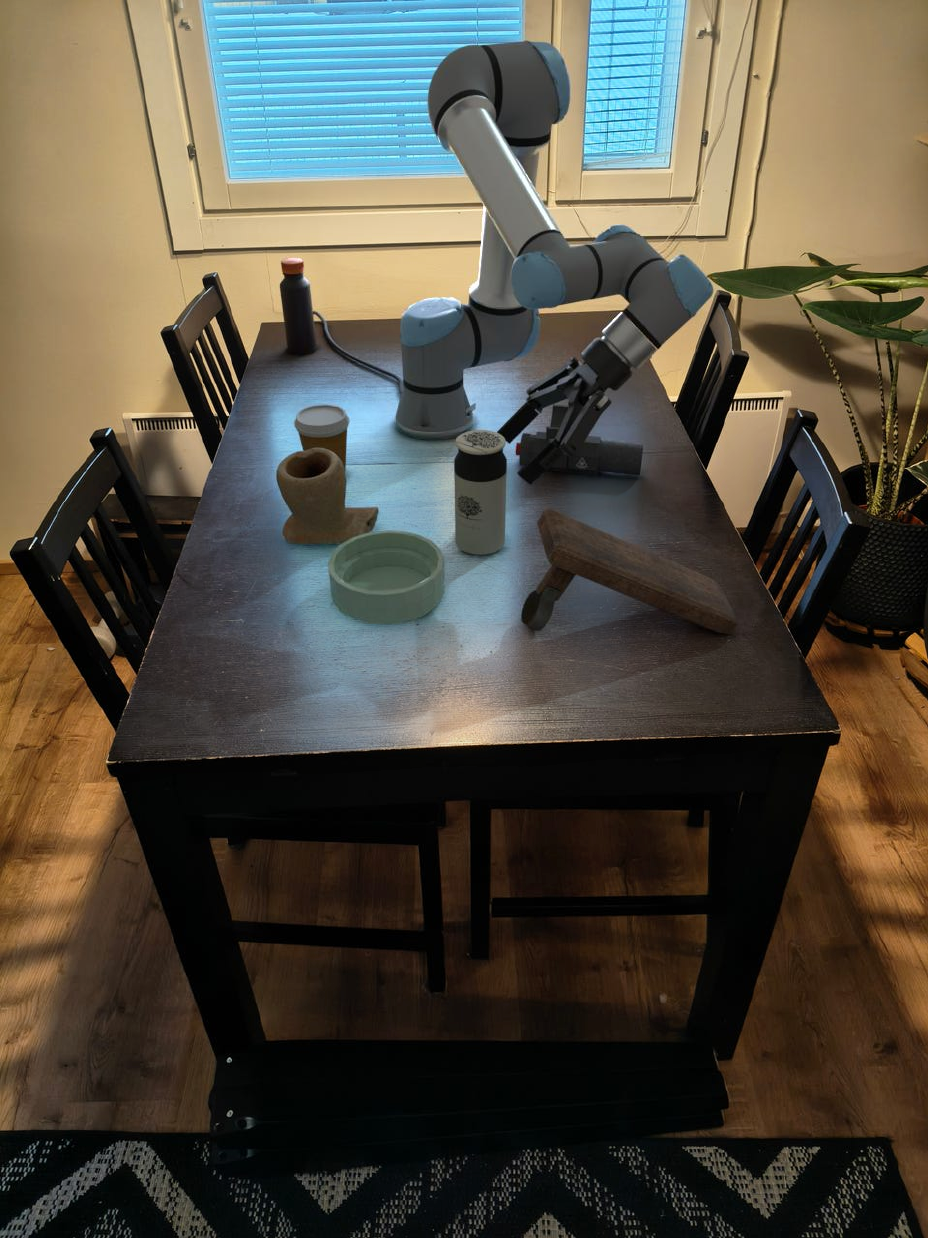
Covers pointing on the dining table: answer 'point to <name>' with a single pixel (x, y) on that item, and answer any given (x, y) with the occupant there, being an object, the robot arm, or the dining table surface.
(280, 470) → the stone cup
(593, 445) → the laser sight
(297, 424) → the disposable coffee cup
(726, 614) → the dark brown angled bar
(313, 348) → the water bottle
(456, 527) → the travel mug
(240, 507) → the dining table surface
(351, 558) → the bowl
